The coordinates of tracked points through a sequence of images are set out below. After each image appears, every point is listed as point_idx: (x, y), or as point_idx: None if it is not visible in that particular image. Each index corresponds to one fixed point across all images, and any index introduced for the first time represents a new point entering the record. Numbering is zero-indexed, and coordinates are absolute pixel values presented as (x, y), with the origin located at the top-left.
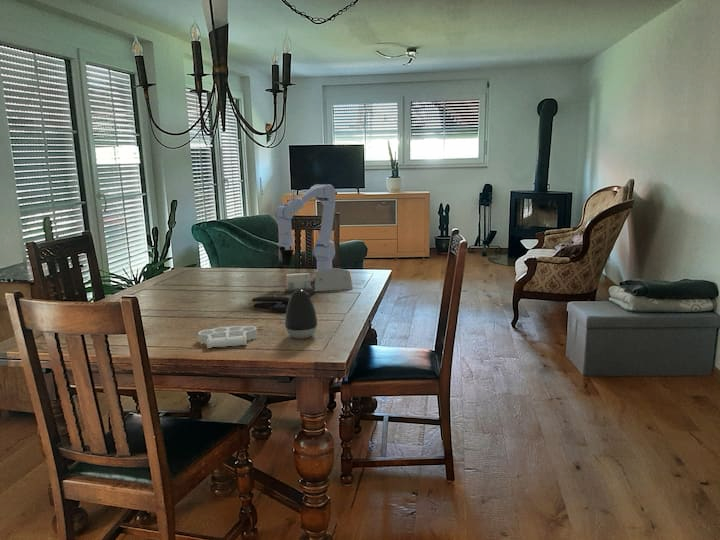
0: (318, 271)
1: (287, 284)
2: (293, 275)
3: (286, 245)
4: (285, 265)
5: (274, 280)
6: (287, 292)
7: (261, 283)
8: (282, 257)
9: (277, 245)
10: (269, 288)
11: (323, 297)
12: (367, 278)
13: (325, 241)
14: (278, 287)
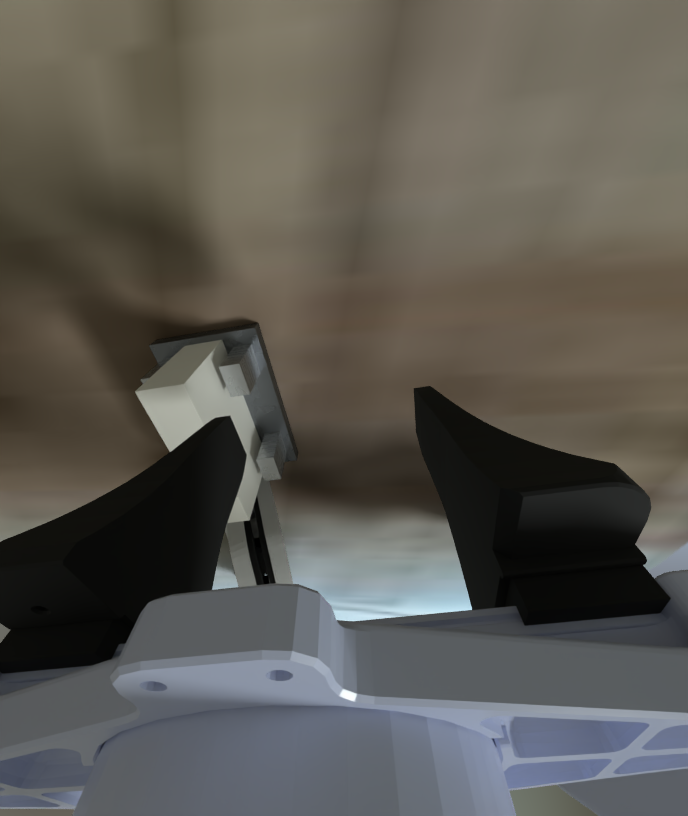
0: (234, 568)
1: (170, 359)
2: (162, 435)
3: (10, 764)
4: (216, 417)
5: (595, 204)
6: (156, 341)
7: (526, 63)
8: (433, 411)
9: (144, 610)
10: (292, 186)
11: (87, 501)
12: (422, 611)
13: (607, 801)
14: (319, 265)
